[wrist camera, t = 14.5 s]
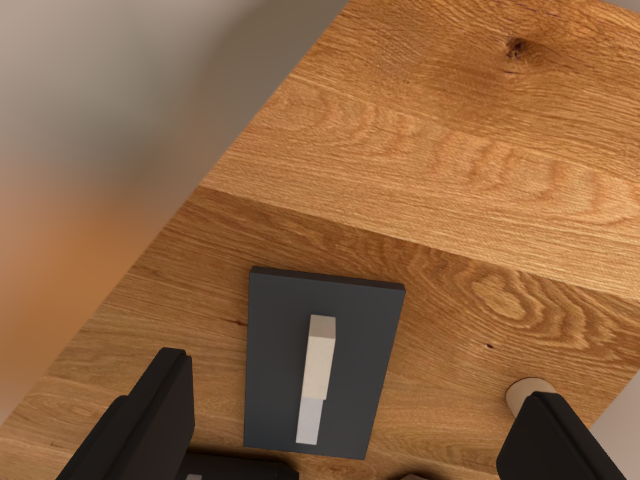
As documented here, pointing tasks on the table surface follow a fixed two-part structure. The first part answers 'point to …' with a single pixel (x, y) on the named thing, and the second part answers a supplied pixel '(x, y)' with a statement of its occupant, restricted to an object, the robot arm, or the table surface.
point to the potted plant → (412, 477)
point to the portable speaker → (231, 469)
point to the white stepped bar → (315, 377)
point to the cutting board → (290, 355)
